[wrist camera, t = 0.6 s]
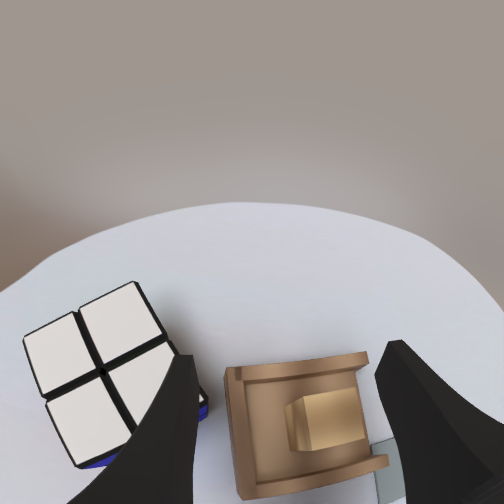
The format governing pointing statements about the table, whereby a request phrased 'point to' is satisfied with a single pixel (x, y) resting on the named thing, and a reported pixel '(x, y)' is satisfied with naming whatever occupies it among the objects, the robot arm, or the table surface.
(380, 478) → the slate pad
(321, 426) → the oak block
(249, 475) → the tray
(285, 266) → the table surface
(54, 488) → the table surface
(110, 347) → the puzzle cube
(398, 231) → the table surface
